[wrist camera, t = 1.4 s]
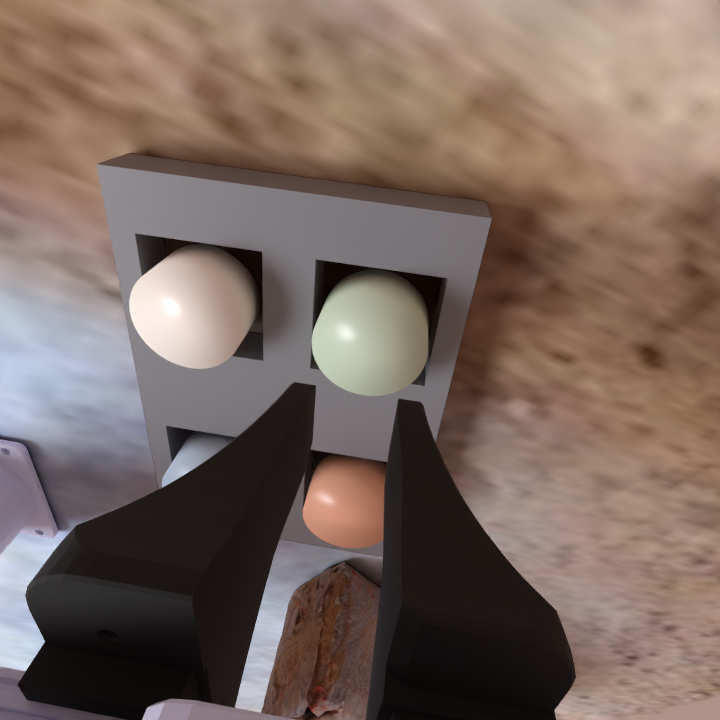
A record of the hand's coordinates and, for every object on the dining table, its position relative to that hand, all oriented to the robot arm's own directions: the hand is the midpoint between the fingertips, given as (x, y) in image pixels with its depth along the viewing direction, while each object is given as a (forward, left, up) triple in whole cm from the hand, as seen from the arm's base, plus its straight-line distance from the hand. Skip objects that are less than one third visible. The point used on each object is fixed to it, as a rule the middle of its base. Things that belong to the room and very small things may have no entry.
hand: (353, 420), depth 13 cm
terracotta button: (0, -9, -6) cm, 11 cm away
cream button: (-6, 0, -6) cm, 9 cm away
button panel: (-3, -4, -7) cm, 9 cm away
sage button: (0, 0, -6) cm, 6 cm away
